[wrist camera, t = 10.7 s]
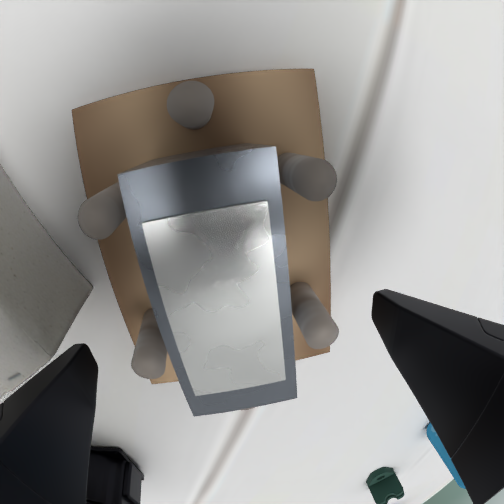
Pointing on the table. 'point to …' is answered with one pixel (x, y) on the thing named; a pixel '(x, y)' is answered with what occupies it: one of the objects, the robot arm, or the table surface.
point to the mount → (384, 485)
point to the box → (32, 291)
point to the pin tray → (199, 138)
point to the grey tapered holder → (217, 272)
